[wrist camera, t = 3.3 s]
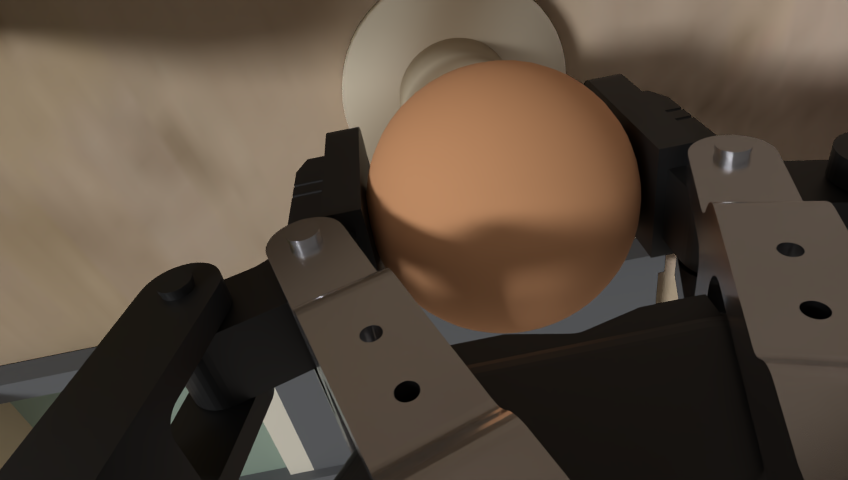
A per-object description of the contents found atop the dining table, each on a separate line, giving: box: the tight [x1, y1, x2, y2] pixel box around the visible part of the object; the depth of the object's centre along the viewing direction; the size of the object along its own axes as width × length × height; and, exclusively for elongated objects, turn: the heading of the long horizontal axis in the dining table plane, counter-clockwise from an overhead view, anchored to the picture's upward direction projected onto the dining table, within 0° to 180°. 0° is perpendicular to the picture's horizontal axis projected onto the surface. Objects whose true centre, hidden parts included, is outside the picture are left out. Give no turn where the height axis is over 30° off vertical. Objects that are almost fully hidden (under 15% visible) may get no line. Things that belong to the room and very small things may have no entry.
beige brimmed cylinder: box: [342, 0, 566, 162], centre depth 14 cm, size 6×6×4 cm
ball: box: [366, 60, 641, 333], centre depth 11 cm, size 5×5×5 cm
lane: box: [0, 239, 666, 480], centre depth 21 cm, size 24×9×3 cm, turn 100°
